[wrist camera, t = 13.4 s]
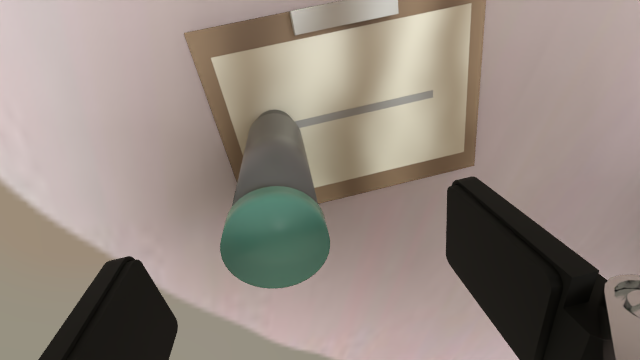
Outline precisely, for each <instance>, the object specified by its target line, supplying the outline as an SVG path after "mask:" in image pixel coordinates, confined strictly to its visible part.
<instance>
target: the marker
mask: <svg viewBox="0 0 640 360" xmlns="http://www.w3.org/2000/svg"><path fill="white" fill-rule="evenodd" d="M329 249H330V238H329V233H328V230H327V226H326V222H325V218H324V215H323V212H322V210H321V208H320V207H319V205H318V201H317V197H316V193H315V189H314V185H313V180H312V176H311V172H310V168H309V164H308V160H307V156H306V151H305V147H304V143H303V139H302V135H301V131H300V129H299V127H298V125H297V124H296V123H295V122H294V121H293V120H292V118H291V117H290V116H289V115H288V114H287V113H285V112H283V111H281V110H268V111H266V112H264V113H262V114H261V115H260V116H259V117H258V119H257V120H256V121H255V122H254V123H253V124H252V126H251V128H250V130H249V133H248V138H247V142H246V146H245V151H244V155H243V160H242V164H241V169H240V173H239V178H238V182H237V187H236V191H235V196H234V200H233V205H232V208H231V209H230V211H229V213H228V215H227V218H226V221H225V225H224V230H223V234H222V238H221V243H220V251H221V257H222V259H223V262H224V264H225V266H226V267H227V268H228V270H229V271H230V272H231V273H232V274H233V275H234V276H236V277H237V278H238V279H240V280H241V281H243V282H245V283H248V284H250V285H253V286H257V287H262V288H284V287H289V286H293V285H296V284H298V283H301V282H303V281H305V280H307V279H308V278H310V277H311V276H313V275H314V274H315V273H316V272H317V271H318V270H319V269H320V268H321V267H322V265H323V264H324V262H325V261H326V259H327V256H328V254H329Z"/></svg>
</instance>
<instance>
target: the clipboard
mask: <svg viewBox="0 0 640 360" xmlns="http://www.w3.org/2000/svg"><path fill="white" fill-rule="evenodd" d="M485 6H486V0H342V1H337V2H332V3H327V4H323V5H318V6H313V7H308V8H303V9H298V10H293V11H290V12H285V13H280V14H275V15H270V16H265V17H260V18H256V19H251V20H246V21H241V22H236V23H231V24H226V25H221V26H216V27H212V28H207V29H202V30H197V31H192V32H187V33H184V35H185V38H186V41H187V44H188V46H189V49H190V52H191V55H192V58H193V60H194V63H195V66H196V69H197V72H198V74H199V77H200V80H201V83H202V86H203V88H204V91H205V94H206V97H207V100H208V102H209V105H210V108H211V111H212V114H213V116H214V119H215V122H216V125H217V128H218V130H219V133H220V136H221V139H222V142H223V144H224V147H225V150H226V153H227V156H228V158H229V161H230V164H231V167H232V170H233V172H234V175H235V178H236V181H237V182H238V178H239V173H240V169H241V164H242V160H243V155H244V151H245V146H246V142H247V138H248V133H249V130H250V128H251V126H252V124H253V123H254V122H255V121H256V120H257V119H258V117H259V116H260V115H261V114H262V113H264V112H266V111H268V110H281V111H283V112H285V113H287V114H288V115H289V116H290V117H291V118H292V120H293V121H294V122H295V123H296V124H297V125H298V127H299V129H300V131H301V135H302V139H303V143H304V147H305V151H306V156H307V160H308V164H309V168H310V172H311V176H312V180H313V185H314V189H315V193H316V197H317V201H318V204H319V203H323V202H328V201H332V200H336V199H340V198H344V197H348V196H352V195H356V194H360V193H364V192H368V191H372V190H377V189H381V188H385V187H389V186H393V185H397V184H401V183H405V182H409V181H413V180H417V179H422V178H426V177H430V176H434V175H438V174H442V173H446V172H450V171H454V170H458V169H462V168H466V167H471V166H474V161H475V147H476V133H477V119H478V105H479V91H480V77H481V63H482V48H483V34H484V20H485Z"/></svg>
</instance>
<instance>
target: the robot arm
mask: <svg viewBox="0 0 640 360" xmlns="http://www.w3.org/2000/svg"><path fill="white" fill-rule="evenodd" d="M446 257H447V260H448V262H449V264H450V266H451V267H452V269H453V270H454V271H455V273H456V274H457V275H458V277H459V278H460V279H461V281H462V282H463V283H464V285H465V286H466V288H467V289H468V290H469V292H470V293H471V294H472V296H473V297H474V298H475V300H476V301H477V303H478V304H479V305H480V307H481V308H482V309H483V311H484V312H485V313H486V315H487V316H488V317H489V319H490V320H491V322H492V323H493V324H494V326H495V327H496V328H497V330H498V331H499V332H500V334H501V335H502V336H503V338H504V339H505V341H506V342H507V343H508V345H509V346H510V347H511V349H512V350H513V351H514V353H515V354H516V355H517V357H518V358H519V360H640V276H639V275H632V274H631V275H618V276H615V277H612V278H610V279H609V280H608V281H607V280H606V279H605V278H604V277H602V276H601V275H600V274H598V273H599V270H598V269H596V268H595V267H594V266H592V265H591V264H590V263H588V262H587V261H586V260H585V259H583V258H582V257H581V256H579V255H578V254H577V253H575V252H574V251H573V250H571V249H570V248H569V247H567V246H566V245H565V244H563V243H562V242H561V241H559V240H558V239H557V238H555V237H554V236H553V235H551V234H550V233H549V232H547V231H546V230H545V229H544V228H542V227H541V226H540V225H538V224H537V223H536V222H534V221H533V220H532V219H530V218H529V217H528V216H526V215H525V214H524V213H522V212H521V211H520V210H518V209H517V208H516V207H514V206H513V205H512V204H510V203H509V202H508V201H507V200H505V199H504V198H503V197H501V196H500V195H499V194H497V193H496V192H495V191H493V190H492V189H491V188H489V187H488V186H487V185H485V184H484V183H483V182H481V181H480V180H479V179H477V178H476V177H468V178H464V179H459V180H455V181H454V182H453V183H452V186H450V187H449V188H448V190H447V228H446ZM177 328H178V325H177V320H176V318H175V316H174V314H173V313H172V311H171V310H170V308H169V306H168V305H167V303H166V302H165V300H164V298H163V297H162V295H161V293H160V292H159V290H158V288H157V287H156V285H155V284H154V282H153V280H152V279H151V277H150V275H149V274H148V272H147V271H146V269H145V267H144V266H143V264H142V263H141V261H139V260H135V259H134V258H133V257H129V256H128V257H124V258H119V259H115V260H111V261H108V262H106V263H105V265H104V266H103V267H102V269H101V270H100V272H99V273H98V275H97V276H96V277H95V279H94V281H93V282H92V283H91V285H90V286H89V288H88V289H87V290H86V292H85V293H84V295H83V296H82V298H81V299H80V301H79V302H78V303H77V305H76V306H75V308H74V309H73V311H72V312H71V314H70V315H69V316H68V318H67V320H66V321H65V322H64V324H63V325H62V326H61V328H60V329H59V331H58V332H57V334H56V335H55V337H54V338H53V340H52V341H51V342H50V344H49V345H48V347H47V348H46V350H45V351H44V353H43V354H42V355H41V357H40V358H39V360H169V357H170V353H171V350H172V347H173V343H174V340H175V337H176V333H177Z"/></svg>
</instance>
